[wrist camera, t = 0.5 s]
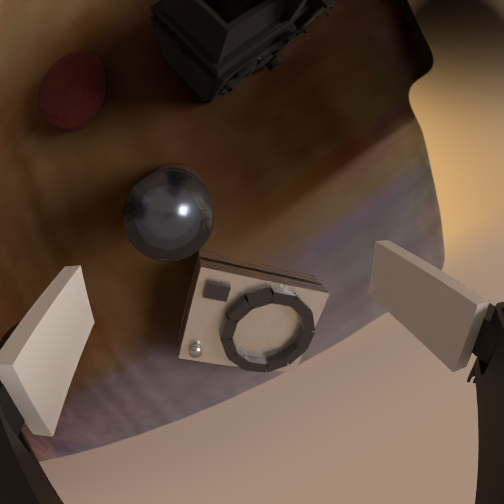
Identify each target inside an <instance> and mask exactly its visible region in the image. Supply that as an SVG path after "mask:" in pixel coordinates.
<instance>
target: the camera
mask: <svg viewBox="0 0 504 504" xmlns="http://www.w3.org/2000/svg"><path fill="white" fill-rule="evenodd" d="M335 2H336V0H160V1H159V2H158V3H156V4H155V5H153V6H152V7H151V9H152V13H153V17H152V18H151V19H152V23H153V26H154V30H155V33H156V36H157V39H158V43H159V46H160V49H161V53H162V56H163V58H164V59H165V61H166V62H167V63H168V64H169V65H170V66H171V67H172V68H173V69H174V70H175V71H176V72H177V73H178V74H179V75H180V76H181V77H182V78H183V79H184V81H185V82H186V83H187V84H188V85H189V86H190V87H191V88H192V89H193V90H194V91H195V92H196V94H197V95H198V96H199V97H200V98H201V99H202V100H203V101H204V102H207V101H209V102H210V103H212V102H214V101H215V100H216V99H217V98H219V97H220V96H221V95H223V94H226V93H227V92H231V91H233V90H234V89H235V88H236V87H237V86H238V85H239V84H240V83H241V82H242V81H243V80H245V79H246V78H247V77H248V76H249V75H251V74H252V73H253V72H255V71H256V70H257V69H259V68H260V67H261V66H263V65H264V64H265V65H266V67H267V68H268V69H269V70H270V71H271V70H273V69H275V68H276V67H277V66H279V65H280V64H281V63H283V61H284V59H283V58H282V57H281V56H280V54H279V55H278V56H277V54H278V53H279V52H280V51H282V50H283V49H284V47H285V46H287V45H288V44H290V43H292V41H293V40H295V39H297V38H299V37H301V36H302V35H303V33H309V32H310V31H312V29H311V27H309V28H307V29H306V30H304V31H303V32H301V31H302V30H303V29H305V28H306V27H307V25H308V24H309V23H310V22H311V21H312V20H314V19H315V18H318V17H317V16H318V15H319V14H320V13H322V10H323V11H324V9H328V8H330V9H331V8H332V7H333V6H334V4H335ZM322 5H323V6H324V7H322ZM321 7H322V8H321ZM320 8H321V9H320ZM319 9H320V10H319ZM318 10H319V11H318ZM325 13H326V12H325ZM313 14H314V15H313ZM325 15H326V16H329V14H328V13H327V14H325ZM233 87H234V89H232V88H233Z"/></svg>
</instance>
